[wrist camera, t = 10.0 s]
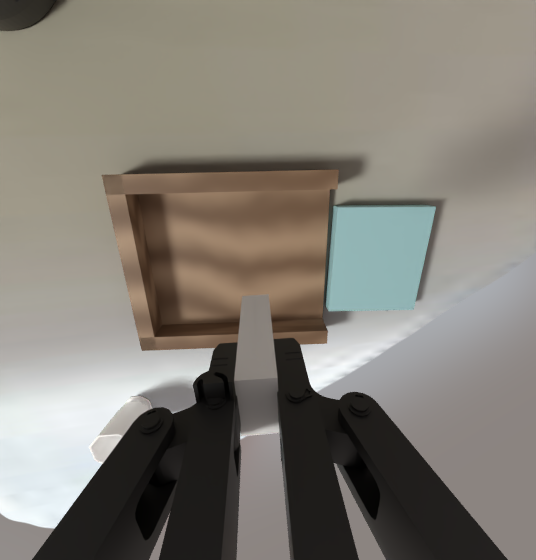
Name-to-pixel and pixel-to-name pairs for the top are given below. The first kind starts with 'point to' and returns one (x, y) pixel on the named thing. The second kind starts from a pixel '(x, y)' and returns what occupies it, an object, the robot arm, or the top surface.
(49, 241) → the top surface
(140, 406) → the cup
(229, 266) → the walnut box
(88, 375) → the top surface
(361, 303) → the cover plate
